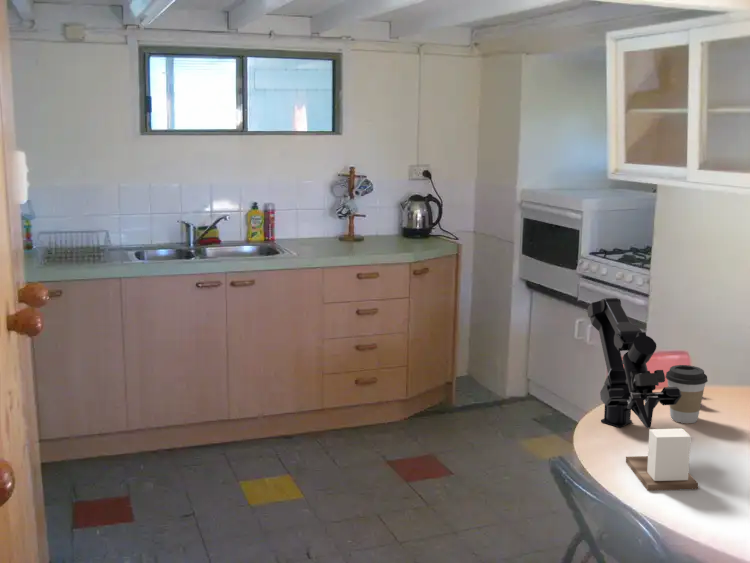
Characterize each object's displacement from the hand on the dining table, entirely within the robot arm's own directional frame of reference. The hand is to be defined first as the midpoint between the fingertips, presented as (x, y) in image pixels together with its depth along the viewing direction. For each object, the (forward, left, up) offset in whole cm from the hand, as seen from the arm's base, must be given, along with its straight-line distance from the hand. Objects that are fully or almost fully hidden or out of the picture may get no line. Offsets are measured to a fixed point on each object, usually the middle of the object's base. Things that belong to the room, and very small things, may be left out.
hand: (648, 427), depth 207 cm
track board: (+7, -6, -9) cm, 13 cm away
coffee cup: (-8, +32, -9) cm, 34 cm away
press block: (+11, -9, -7) cm, 15 cm away
